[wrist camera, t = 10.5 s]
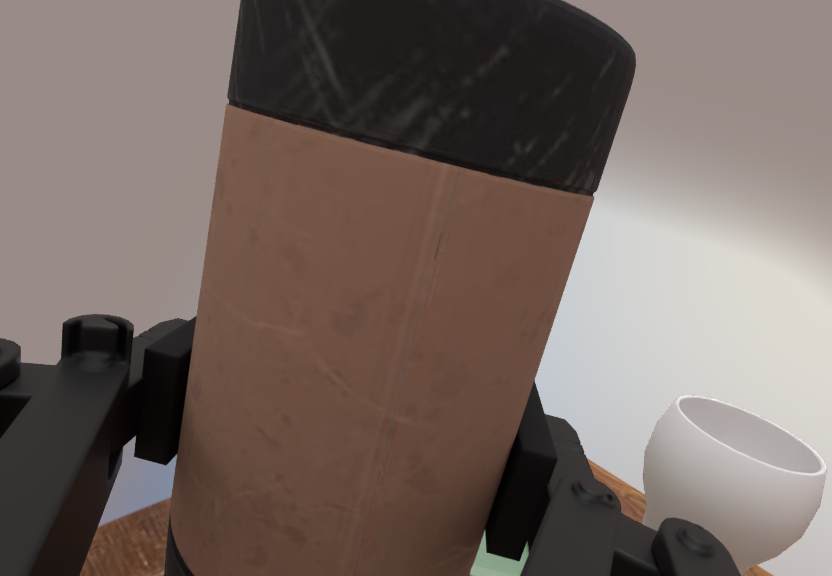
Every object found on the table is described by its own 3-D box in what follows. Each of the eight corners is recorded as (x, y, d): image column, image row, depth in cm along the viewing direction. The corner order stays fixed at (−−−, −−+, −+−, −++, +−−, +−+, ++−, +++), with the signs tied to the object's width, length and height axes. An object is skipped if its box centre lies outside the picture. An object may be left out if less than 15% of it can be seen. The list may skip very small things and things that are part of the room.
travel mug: (153, 1007, 10) (351, -129, 5) (126, 659, 16) (201, -30, 11) (449, 806, 15) (731, 86, 9) (342, 588, 21) (474, 72, 15)
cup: (577, 580, 39) (649, 411, 35) (623, 522, 47) (686, 380, 43) (727, 695, 33) (836, 506, 29) (751, 606, 41) (838, 448, 37)
